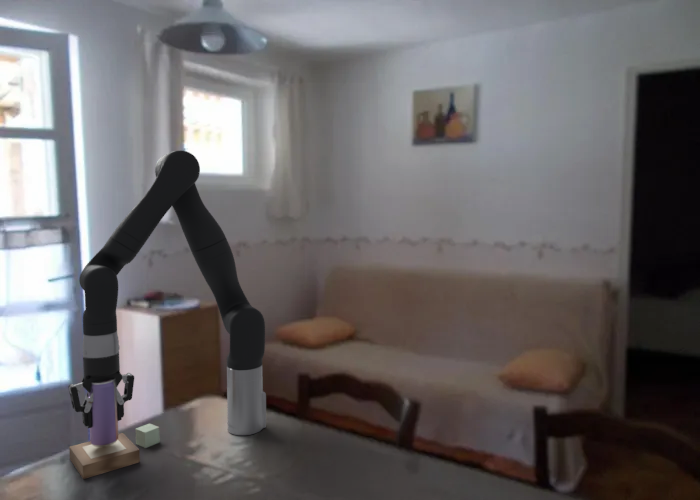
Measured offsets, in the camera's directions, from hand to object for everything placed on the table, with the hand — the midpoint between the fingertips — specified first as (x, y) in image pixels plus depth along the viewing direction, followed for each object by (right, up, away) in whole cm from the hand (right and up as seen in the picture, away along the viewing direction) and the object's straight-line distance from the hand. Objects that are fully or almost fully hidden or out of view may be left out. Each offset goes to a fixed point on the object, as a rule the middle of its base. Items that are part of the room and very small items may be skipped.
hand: (103, 423), depth 123 cm
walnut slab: (0, -9, +1) cm, 9 cm away
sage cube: (+6, -8, +10) cm, 15 cm away
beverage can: (0, -5, 0) cm, 5 cm away
